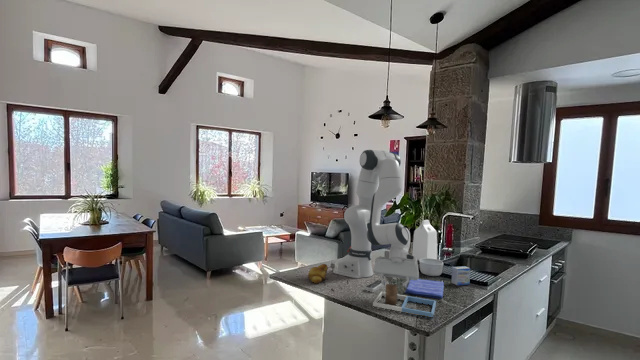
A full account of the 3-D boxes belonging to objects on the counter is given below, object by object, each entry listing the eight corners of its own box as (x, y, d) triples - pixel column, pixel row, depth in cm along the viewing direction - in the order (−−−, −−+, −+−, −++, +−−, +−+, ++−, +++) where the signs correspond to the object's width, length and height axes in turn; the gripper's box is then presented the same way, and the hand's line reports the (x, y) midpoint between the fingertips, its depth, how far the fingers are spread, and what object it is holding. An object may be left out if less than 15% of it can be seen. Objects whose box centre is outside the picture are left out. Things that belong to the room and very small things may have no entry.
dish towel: (404, 295, 161) (404, 289, 161) (410, 280, 183) (410, 274, 183) (442, 300, 155) (442, 294, 154) (444, 284, 177) (444, 279, 176)
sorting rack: (372, 307, 144) (373, 302, 144) (380, 295, 158) (381, 291, 158) (432, 318, 135) (432, 313, 135) (435, 305, 148) (436, 300, 148)
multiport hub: (364, 291, 164) (364, 286, 164) (378, 283, 176) (378, 279, 176) (372, 293, 161) (373, 288, 161) (385, 285, 173) (386, 281, 173)
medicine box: (456, 285, 174) (457, 269, 173) (451, 282, 178) (451, 266, 178) (469, 284, 176) (470, 268, 176) (464, 281, 180) (464, 265, 180)
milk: (422, 255, 233) (423, 218, 232) (437, 259, 224) (438, 220, 223) (411, 258, 225) (412, 219, 224) (427, 262, 217) (428, 222, 216)
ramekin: (446, 277, 188) (446, 264, 187) (422, 276, 188) (423, 264, 188) (438, 270, 201) (438, 258, 201) (416, 269, 201) (416, 257, 201)
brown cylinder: (384, 304, 147) (384, 286, 147) (386, 300, 152) (387, 283, 152) (395, 307, 145) (396, 288, 145) (398, 302, 150) (398, 285, 150)
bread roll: (322, 285, 170) (322, 269, 170) (303, 283, 173) (304, 268, 172) (328, 277, 182) (328, 263, 182) (311, 275, 185) (311, 261, 185)
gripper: (375, 252, 161) (369, 278, 152) (419, 257, 153) (416, 285, 144) (377, 259, 165) (371, 285, 156) (420, 264, 157) (417, 292, 148)
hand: (393, 285), depth 150 cm, fingers open, 8 cm apart
